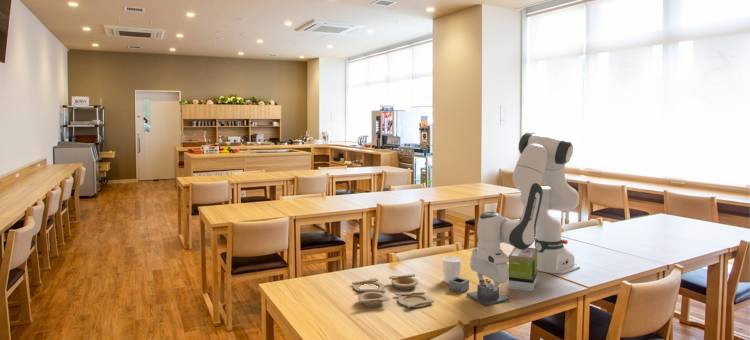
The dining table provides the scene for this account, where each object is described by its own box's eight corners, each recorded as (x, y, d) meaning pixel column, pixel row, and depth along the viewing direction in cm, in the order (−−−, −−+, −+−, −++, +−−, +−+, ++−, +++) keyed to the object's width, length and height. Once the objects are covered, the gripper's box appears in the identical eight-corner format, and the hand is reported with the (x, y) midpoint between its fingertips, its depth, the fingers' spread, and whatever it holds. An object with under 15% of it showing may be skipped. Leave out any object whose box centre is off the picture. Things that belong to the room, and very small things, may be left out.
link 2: (489, 292, 198) (489, 282, 197) (498, 297, 192) (499, 287, 192) (477, 294, 196) (477, 284, 195) (486, 299, 190) (486, 289, 190)
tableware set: (437, 309, 185) (437, 299, 184) (360, 315, 180) (360, 305, 180) (414, 279, 219) (414, 270, 219) (350, 283, 215) (350, 274, 214)
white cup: (460, 284, 210) (460, 262, 208) (442, 283, 211) (442, 261, 210) (461, 278, 217) (461, 257, 216) (443, 277, 219) (443, 256, 218)
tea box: (514, 277, 218) (515, 245, 216) (537, 280, 213) (538, 247, 212) (507, 288, 204) (508, 254, 203) (532, 292, 200) (533, 257, 198)
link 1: (456, 286, 208) (456, 277, 208) (468, 289, 204) (469, 280, 204) (448, 290, 204) (449, 280, 203) (461, 293, 200) (461, 283, 199)
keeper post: (490, 290, 202) (491, 273, 201) (509, 300, 191) (510, 282, 190) (466, 295, 197) (466, 277, 196) (484, 306, 186) (485, 286, 185)
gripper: (466, 247, 200) (466, 280, 202) (498, 261, 182) (497, 296, 183) (479, 245, 203) (479, 278, 204) (511, 258, 184) (511, 294, 186)
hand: (488, 287), depth 194 cm, fingers open, 7 cm apart
